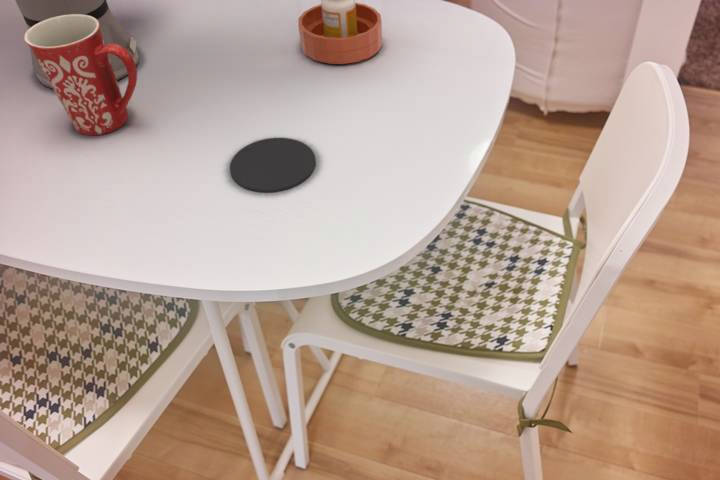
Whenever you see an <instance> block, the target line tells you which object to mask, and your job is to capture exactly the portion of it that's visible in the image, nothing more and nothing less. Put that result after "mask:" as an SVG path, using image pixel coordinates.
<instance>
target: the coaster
mask: <svg viewBox="0 0 720 480" xmlns="http://www.w3.org/2000/svg"><path fill="white" fill-rule="evenodd" d="M316 160H317V159H316V155H315V152H314V151H313V150H312V148H311V147H310V146H308V145H307V144H306V143H304V142H302V141H300V140H298V139H295V138H288V137H270V138H264V139H259V140H257V141H254V142H251V143H249V144H247V145H245V146H244V147H242V148H241V149H240V150H238V151H237V152H236V153H235V154H234V155H233V157H232V159H231V161H230V164H229V171H230V175H231V178H232V179H233V181H234V182H235V183H236V184H237V185H239V186H240V187H242V188H244V189H246V190H249V191H253V192H258V193H276V192H282V191H285V190H289V189H292V188H294V187H297V186H298V185H300V184H303V183H304V182H305V181H306V180H308V179H309V177H310V176H312V174H313V172H314V170H315V168H316V163H317V161H316Z"/></svg>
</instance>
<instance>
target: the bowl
mask: <svg viewBox="0 0 720 480" xmlns="http://www.w3.org/2000/svg"><path fill="white" fill-rule="evenodd" d="M355 4H356V18H357V34H358V35H355V36H349V37H342V38H337V37H325V35H324V25H323V15H322V7H321V4H317V5H314V6H313V7H310V8H308V9H307V10H305V11H302V14H301V15H300V16H299V17H298V21H297V26H298V33H299V34H298V35H299V41H300V48H301V50H302V52H303V53H304V54H305V56H306V57H309V58H310V59H312V60H314V61H317V62H321V63H324V64H331V65H332V64H335V65H346V64H353V63H358V62H361V61H363V60H367V59H369V58H372V57H373V56H374V55H376V54H377V53H378V52H379V51H380V49H381V47H382V45H383V36H382V35H383V29H382V15H381V13H379V12H378V10H377V9H376V8H374V7H373V6H370V5H367V4H365V3H360V2H355Z"/></svg>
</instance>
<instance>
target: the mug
mask: <svg viewBox="0 0 720 480" xmlns="http://www.w3.org/2000/svg"><path fill="white" fill-rule="evenodd" d="M23 41H24V42H25V43H26V45H27V46H28V47H29V48H30V50H31V49H32V51H33V53H34V55H35V57H36V58H37V60H38V62H39V64H40V66H41V68H42V69H43V71H44V73H45V75H46V77H47V78H48V80H49V82H50V84H51V85H52V87H53V88H52V89H53V91H54V93H55V94H56V96H57V98H58V100H59V101H60V103H61V105H62V107H63V109H64V111H65V112H66V114H67V116H68V118H69V120H70V121H71V123H72V125H73V127H74V129H75V130H76V131H77V132H78V133H79V134H83V135H87V136H100V135H105V134H108V133H109V134H110V133H111V132H114V131H116V130H118V129H119V128H121V127H122V126H123V125H125V123H127V121H128V118H129V112H128V109H127V106H128V104H129V102H130V100H131V98H132V97H133V94H134V92H135V90H136V89H135V88H136V85H137V81H138V71H137V65H135V62H134V60H133V58H132V56H131V55H130V53H129V52H128V51H127V50H126V49H125V48H123V47H122V46H120V45H117V44H107V45H105V44H104V41H103V38H102V35H101V32H100V24H99V21H98V20H97V19H96V18H94V17H92V16H88V15H82V14H71V15H62V16H57V17H53V18H50V19H47V20H44V21H42V22H39V23H37V24H35V25H34V26H32V27H31V28H30V29H29V30H28V29H27V30H26V31H25V33H24V35H23ZM108 54H114V55H116V56H117V57H119V58H120V59H121V60H122V62H123V63H124V65H125V67H126V69H127V72H128V74H127V76H128V77H127V78H128V82H127V87H126V90H125V93H124V95H122V92H121V89H120V86H119V83H118V80H116V77H115V74H114V71H113V68H112V65H111V62H110V59H109V56H108Z"/></svg>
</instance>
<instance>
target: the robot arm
mask: <svg viewBox="0 0 720 480" xmlns="http://www.w3.org/2000/svg"><path fill="white" fill-rule="evenodd" d="M14 1H15V3H16V5H17V8H18V9H19V11H20V13H21V15H22V17H23V19H24V21H25V24H26V27H27V31H28V30H29V29H30V28H31V27H32V26H34V25H35V24H37V23H39V22H42V21H44V20H47V19H50V18H53V17H57V16H62V15H71V14H82V15H88V16H92V17H94V18H96V19H97V20H98V21H99V24H100V32H101V35H102V38H103V41H104V44H105V45H107V44H117V45H120V46H122V47H123V48H125V49H126V50H127V51H128V52H129V53H130V55H131V56H132V58H133V60H134V62H135V65H136V66H138V64H139V60H140V57H139V53H138V50H137V42H136V41H135V39H134V38H133V36H129V34H128V33H127V32H126V30H125V29H124V27H123V26H122V25H121V23H120V22H119V21H118V19H117V18H116V16H115V15H114V14H113V13H112V11H111V9H110V7H109V5H108V1H107V0H14ZM108 56H109V59H110V62H111V65H112V68H113V71H114V74H115V77H116V80H117V81H119V80H121V79H123V78H124V77H126V76H128V72H127V69H126V67H125V65H124V63H123V62H122V60H121V59H120V58H119V57H117V56H116V55H114V54H108ZM30 57H31V65H32V69H33V72H34V73H35V75H36V78H37V79H38V81H39V82H40V84H42V86H43V85H44V87H47V88H50V89H53V87H52V85H51V84H50V82H49V80H48V78H47V77H46V75H45V73H44V71H43V69H42V68H41V66H40V64H39V62H38V60H37V58H36V57H35V55H34V53H33V51H32V49H31V48H30Z"/></svg>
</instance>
